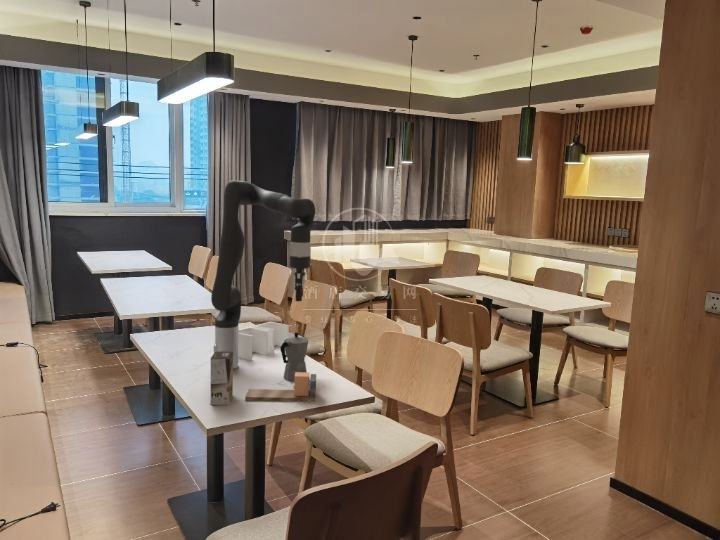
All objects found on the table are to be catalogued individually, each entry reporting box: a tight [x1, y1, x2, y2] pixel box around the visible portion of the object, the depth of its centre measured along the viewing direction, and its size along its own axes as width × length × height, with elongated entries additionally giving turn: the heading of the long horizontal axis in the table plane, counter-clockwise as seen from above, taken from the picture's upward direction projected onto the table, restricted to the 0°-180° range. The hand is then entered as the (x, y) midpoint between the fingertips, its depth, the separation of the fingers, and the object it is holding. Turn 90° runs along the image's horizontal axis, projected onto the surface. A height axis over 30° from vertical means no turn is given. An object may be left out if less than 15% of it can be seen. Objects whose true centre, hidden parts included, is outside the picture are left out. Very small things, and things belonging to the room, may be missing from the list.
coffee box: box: [209, 351, 234, 406], centre depth 197 cm, size 9×6×16 cm
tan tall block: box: [293, 372, 311, 396], centre depth 203 cm, size 5×4×7 cm
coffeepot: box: [280, 332, 309, 382], centre depth 222 cm, size 15×9×18 cm, turn 147°
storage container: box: [238, 321, 290, 361], centre depth 257 cm, size 25×11×11 cm, turn 147°
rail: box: [245, 373, 317, 402], centre depth 202 cm, size 24×8×7 cm, turn 93°
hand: (299, 298), depth 210 cm, fingers open, 8 cm apart
